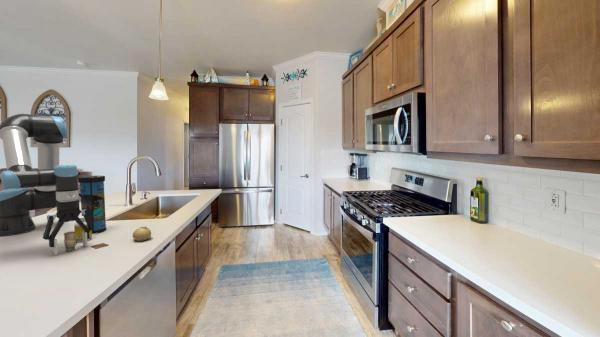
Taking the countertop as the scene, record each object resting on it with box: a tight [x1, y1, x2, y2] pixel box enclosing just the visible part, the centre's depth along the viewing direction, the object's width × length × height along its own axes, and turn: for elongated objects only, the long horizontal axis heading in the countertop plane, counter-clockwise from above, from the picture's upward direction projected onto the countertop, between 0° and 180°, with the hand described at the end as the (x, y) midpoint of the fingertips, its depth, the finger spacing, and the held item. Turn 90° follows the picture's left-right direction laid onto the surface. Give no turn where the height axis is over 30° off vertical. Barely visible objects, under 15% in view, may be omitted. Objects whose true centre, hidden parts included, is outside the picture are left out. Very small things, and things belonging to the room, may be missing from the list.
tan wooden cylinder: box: [63, 230, 77, 253], centre depth 116 cm, size 4×4×8 cm
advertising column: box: [78, 175, 107, 235], centre depth 141 cm, size 11×11×30 cm
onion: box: [132, 226, 152, 242], centre depth 130 cm, size 8×8×7 cm
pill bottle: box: [73, 215, 93, 243], centre depth 129 cm, size 6×6×12 cm
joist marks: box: [90, 242, 109, 250], centre depth 127 cm, size 28×5×1 cm, turn 60°
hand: (70, 249), depth 116 cm, fingers open, 10 cm apart
